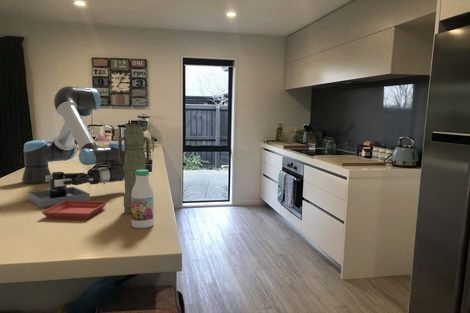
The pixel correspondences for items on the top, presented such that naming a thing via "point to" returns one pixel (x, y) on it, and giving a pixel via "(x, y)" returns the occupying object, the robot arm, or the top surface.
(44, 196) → the tray
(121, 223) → the top surface
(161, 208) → the top surface
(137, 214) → the milk bottle
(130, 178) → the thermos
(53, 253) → the top surface
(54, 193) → the supplement bottle
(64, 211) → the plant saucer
